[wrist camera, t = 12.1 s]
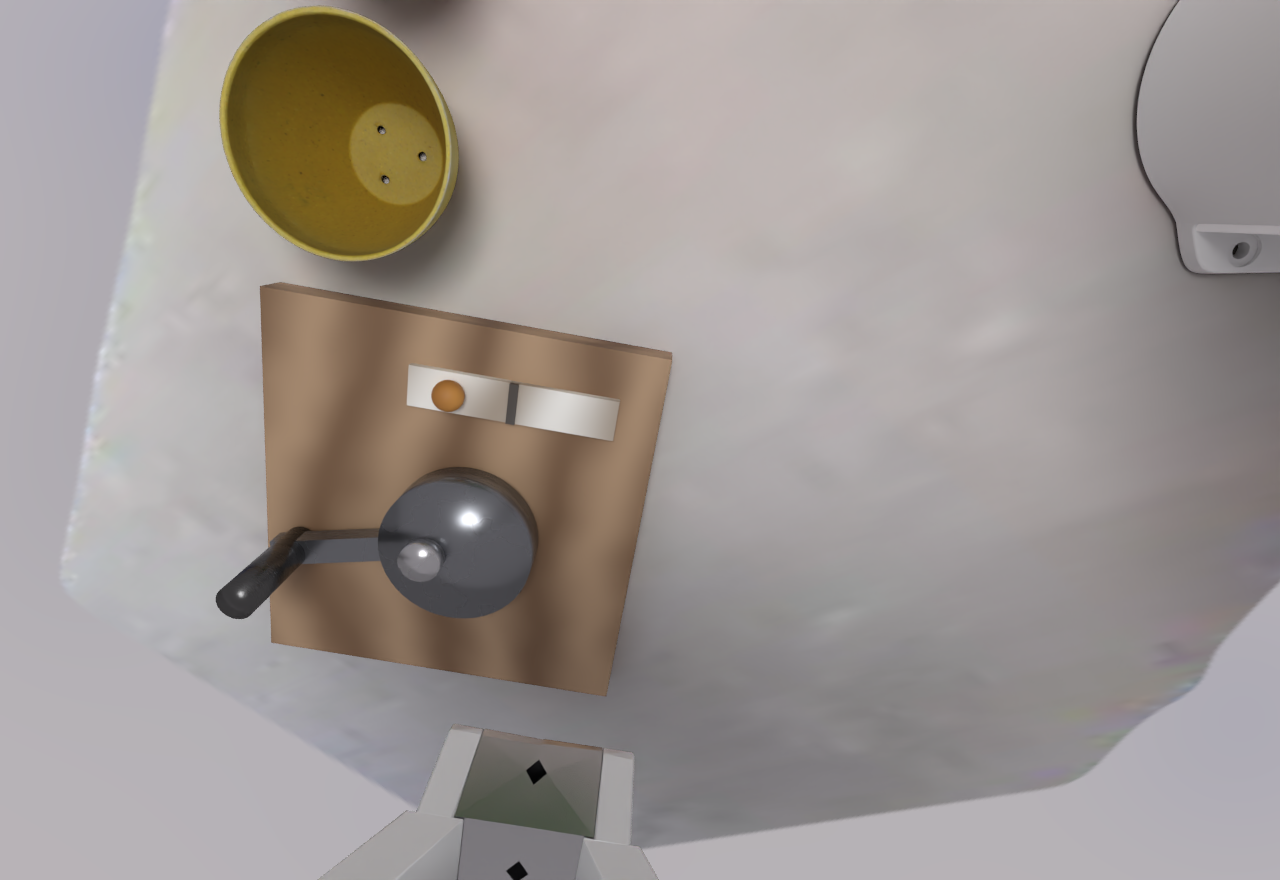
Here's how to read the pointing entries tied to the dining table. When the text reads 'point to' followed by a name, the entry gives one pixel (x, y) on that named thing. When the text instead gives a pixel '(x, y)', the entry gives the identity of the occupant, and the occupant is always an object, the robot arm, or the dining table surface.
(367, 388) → the brown flat piece
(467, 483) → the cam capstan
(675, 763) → the dining table surface
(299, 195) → the flower pot
